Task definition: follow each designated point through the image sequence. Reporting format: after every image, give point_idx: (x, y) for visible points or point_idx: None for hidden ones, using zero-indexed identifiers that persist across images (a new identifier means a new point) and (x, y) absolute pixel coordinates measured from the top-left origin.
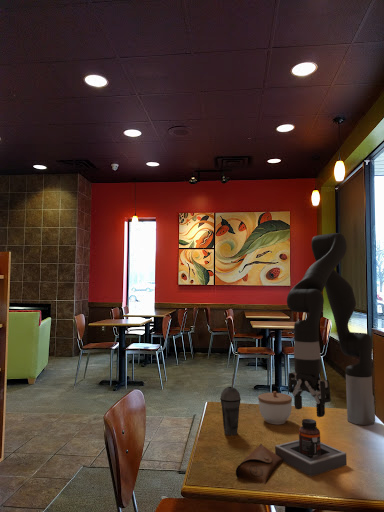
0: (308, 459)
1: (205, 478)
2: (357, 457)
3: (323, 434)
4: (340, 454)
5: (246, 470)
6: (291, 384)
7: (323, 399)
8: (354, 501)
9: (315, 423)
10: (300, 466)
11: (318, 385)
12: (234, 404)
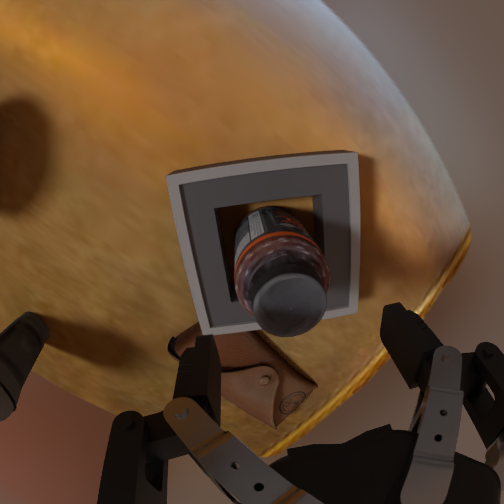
0: (329, 297)
1: (250, 441)
2: (309, 68)
3: (90, 49)
4: (357, 181)
5: (286, 416)
6: (166, 500)
7: (476, 396)
8: (450, 275)
9: (324, 290)
10: None
11: (465, 462)
12: (14, 389)
